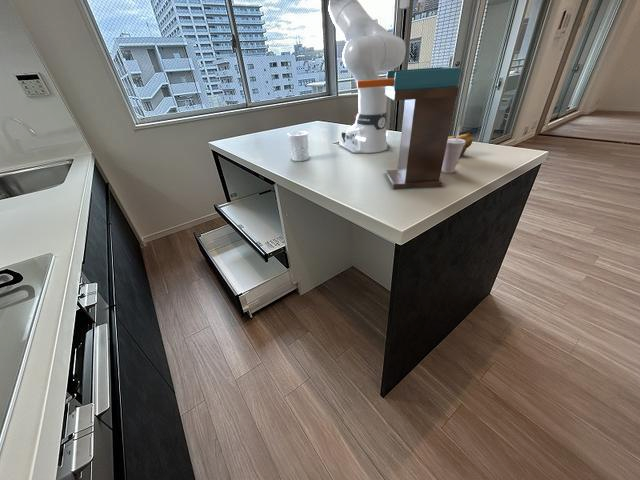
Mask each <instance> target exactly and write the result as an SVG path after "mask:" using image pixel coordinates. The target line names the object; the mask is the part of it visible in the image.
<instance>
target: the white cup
mask: <svg viewBox="0 0 640 480" xmlns="http://www.w3.org/2000/svg"><path fill="white" fill-rule="evenodd" d="M287 137H288V138H287V139H288V143H289V150H290V154H291V158H292V161H294V162H304V161H307V160H309V158H310V156H309V152H310V151H309V150H310V149H309V132H308V131H304V130H298V131H291V132H288V133H287Z"/></svg>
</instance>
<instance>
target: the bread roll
mask: <svg viewBox="0 0 640 480" xmlns="http://www.w3.org/2000/svg"><path fill="white" fill-rule="evenodd" d="M456 136H457V135H451V136H450V135H449V136H448V139H449V138H456ZM458 139H463V140H465V141H466V142H465V145H464V146H463V149H462V151H461V154H460V157H461V156H463V155H464V154H465V153H466V151H467V149H468V148H470V146H471V145H472V144H473V140H474V137H473V134H471V133H464V134H463V133H462V134H459V136H458Z"/></svg>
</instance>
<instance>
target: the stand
mask: <svg viewBox="0 0 640 480" xmlns="http://www.w3.org/2000/svg"><path fill="white" fill-rule="evenodd" d="M459 88H460V86H457V87H444V88H429V89H415V90H400V91H394V90H391V89H389V88H387V87H386V86H385V95H386V96H387V98H389V99H391V100H393V101H395V102H396V101H404V107H403V116H402V125H401V133H400V134H401V135H400V143H399V154H398V163H397V169H389V170H388V169H387V170H385V176H386V178H387V180H388V182H389V184H390V186H391V188H392V189H393V190H403V189H420V188H421V189H422V188H423V189H424V188H441V187H442V185H443V181H442V180H441V176H442V175H441V174H442V165H443V160H444V155H445V150H446V146H447V141H448V137H450V130H451V126H452V121H453V115H454V111H455V105H456V100H457V97H458V94H459Z"/></svg>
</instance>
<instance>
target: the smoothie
mask: <svg viewBox="0 0 640 480" xmlns="http://www.w3.org/2000/svg"><path fill="white" fill-rule="evenodd" d="M461 126H462V125H458V127H457V132H456V135H455V136H456V138H449V139H448V141H447V146H446V150H445V155H444V160H443V165H442V170H441V173H445V174H452V173H454V172H455V170H456V167H457V165H458V163H459V160H460V157H461V156H460V154H461V151H462V149H463V146H464V145H465V142H466V141H465V140H463V139H458V136H460V132H461Z"/></svg>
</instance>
